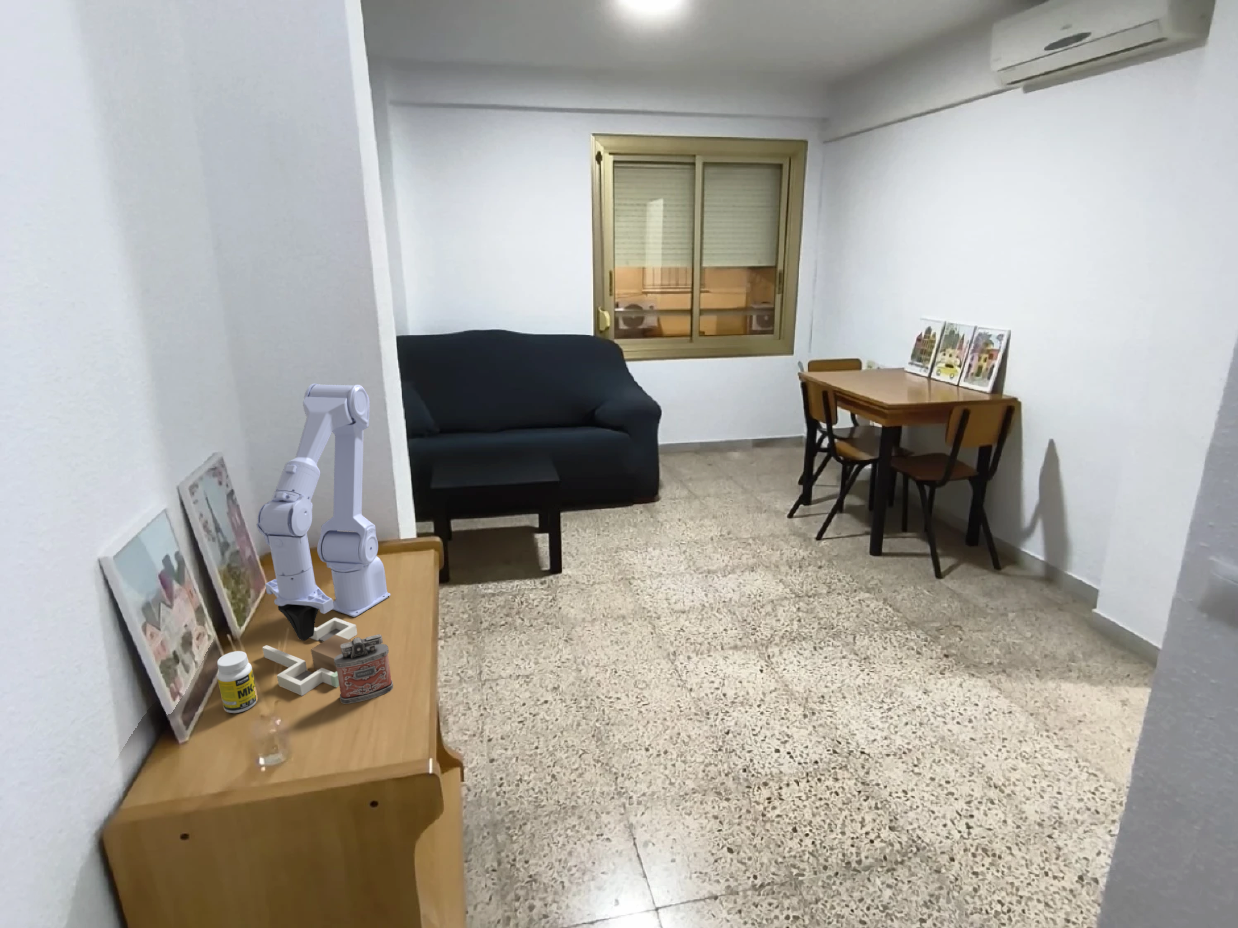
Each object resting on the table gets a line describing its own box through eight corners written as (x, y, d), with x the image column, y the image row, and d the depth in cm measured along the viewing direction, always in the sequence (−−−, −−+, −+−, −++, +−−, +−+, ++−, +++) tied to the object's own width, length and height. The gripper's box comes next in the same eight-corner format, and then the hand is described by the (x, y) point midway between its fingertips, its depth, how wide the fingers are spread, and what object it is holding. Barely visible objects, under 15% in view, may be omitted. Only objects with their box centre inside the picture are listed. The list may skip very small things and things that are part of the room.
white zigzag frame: (324, 622, 127) (322, 613, 127) (394, 647, 119) (392, 637, 119) (242, 669, 113) (240, 659, 113) (315, 701, 105) (313, 691, 105)
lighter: (341, 706, 104) (332, 652, 101) (339, 694, 107) (330, 640, 104) (394, 691, 108) (388, 638, 105) (391, 679, 111) (384, 627, 108)
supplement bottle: (243, 715, 102) (233, 669, 100) (217, 711, 103) (206, 665, 101) (265, 695, 107) (256, 651, 104) (239, 692, 108) (229, 647, 105)
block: (338, 653, 118) (335, 634, 117) (362, 663, 115) (359, 643, 114) (314, 669, 114) (310, 649, 112) (338, 679, 111) (335, 659, 110)
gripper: (243, 568, 112) (258, 637, 117) (302, 588, 106) (315, 661, 110) (281, 551, 118) (293, 618, 122) (338, 569, 112) (349, 639, 116)
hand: (306, 637), depth 117 cm, fingers closed
